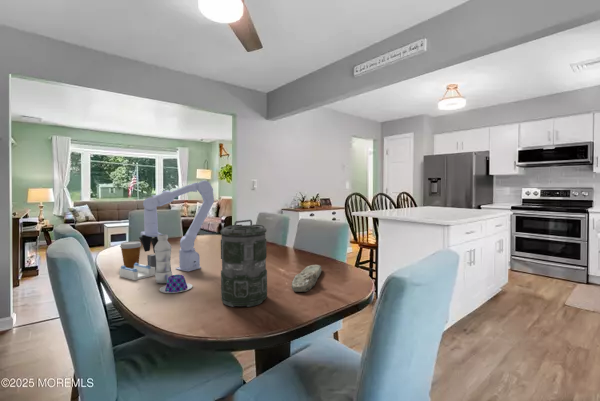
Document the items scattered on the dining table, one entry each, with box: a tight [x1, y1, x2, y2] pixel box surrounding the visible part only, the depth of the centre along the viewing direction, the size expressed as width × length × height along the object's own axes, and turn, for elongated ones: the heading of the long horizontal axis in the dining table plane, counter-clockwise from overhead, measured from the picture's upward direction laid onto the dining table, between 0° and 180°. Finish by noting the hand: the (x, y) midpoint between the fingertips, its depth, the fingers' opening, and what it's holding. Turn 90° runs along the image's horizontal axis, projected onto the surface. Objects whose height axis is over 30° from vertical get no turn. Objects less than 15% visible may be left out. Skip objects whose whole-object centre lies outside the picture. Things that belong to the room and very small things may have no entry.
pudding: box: [159, 274, 193, 294], centre depth 120 cm, size 12×12×5 cm
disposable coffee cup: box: [119, 240, 143, 269], centre depth 155 cm, size 10×10×12 cm
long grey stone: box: [291, 264, 323, 293], centre depth 131 cm, size 35×5×10 cm
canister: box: [219, 219, 268, 308], centre depth 107 cm, size 16×16×28 cm
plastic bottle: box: [154, 233, 173, 284], centre depth 127 cm, size 6×7×20 cm
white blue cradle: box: [118, 262, 156, 281], centre depth 141 cm, size 12×16×5 cm
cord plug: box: [146, 253, 156, 270], centre depth 144 cm, size 3×3×7 cm
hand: (151, 252), depth 144 cm, fingers open, 7 cm apart
